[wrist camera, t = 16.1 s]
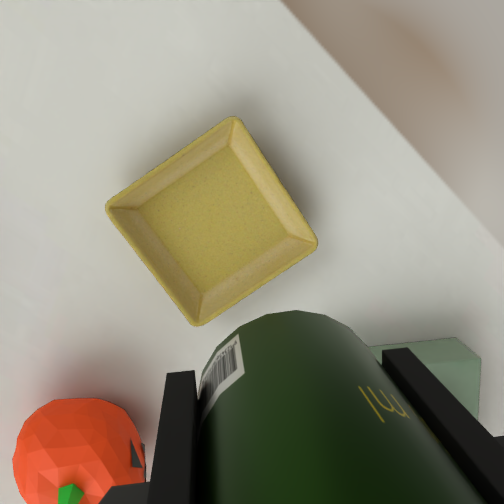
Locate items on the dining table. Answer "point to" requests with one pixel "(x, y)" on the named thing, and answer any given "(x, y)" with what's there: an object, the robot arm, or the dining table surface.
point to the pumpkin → (77, 452)
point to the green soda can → (313, 423)
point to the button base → (447, 367)
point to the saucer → (213, 222)
